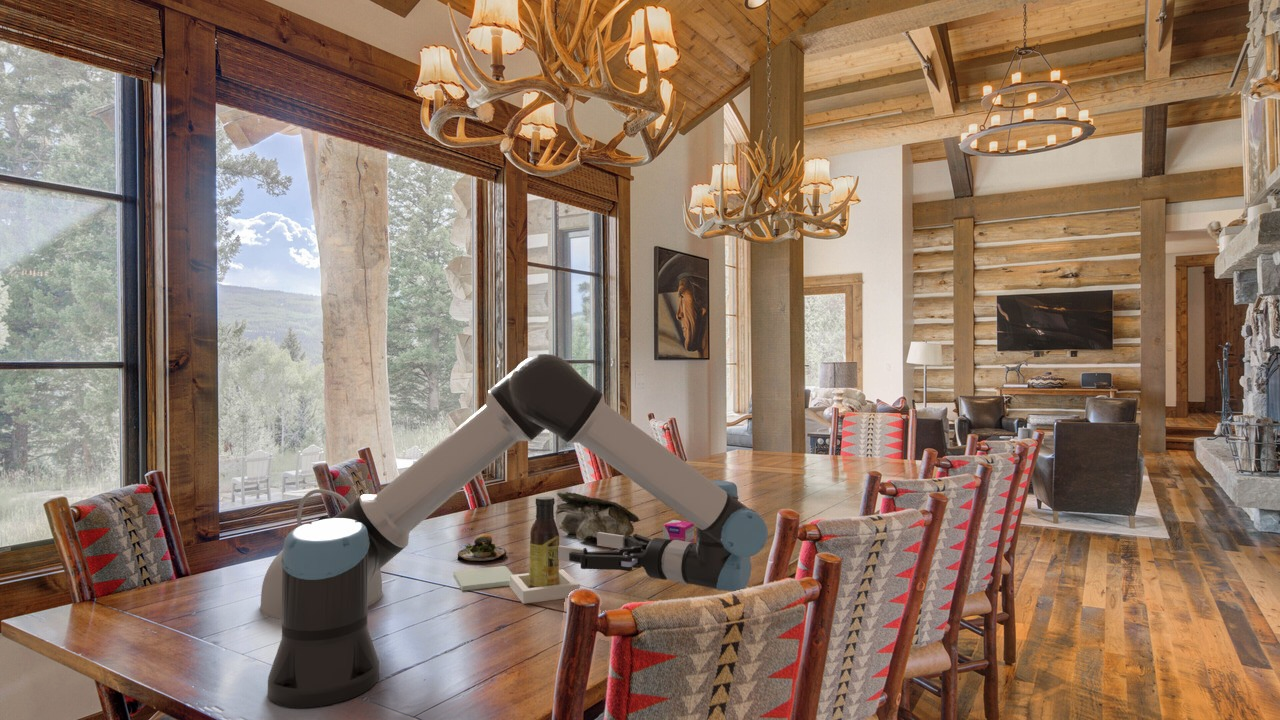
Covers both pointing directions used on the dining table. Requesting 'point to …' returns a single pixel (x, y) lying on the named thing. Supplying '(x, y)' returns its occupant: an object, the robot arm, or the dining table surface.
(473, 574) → the plate
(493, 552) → the burger
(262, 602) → the kettle
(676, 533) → the supplement box
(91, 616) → the dining table surface
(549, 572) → the sauce bottle
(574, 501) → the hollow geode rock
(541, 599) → the pocket frame
